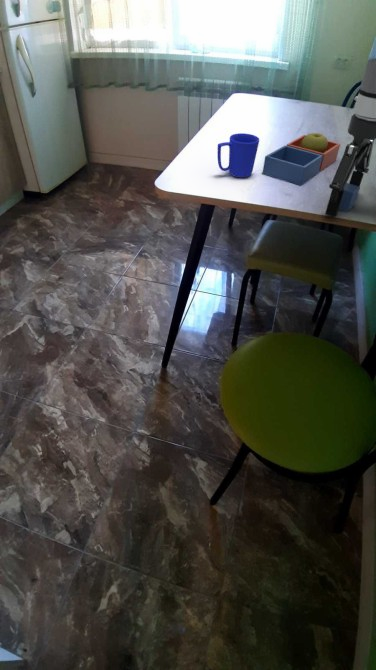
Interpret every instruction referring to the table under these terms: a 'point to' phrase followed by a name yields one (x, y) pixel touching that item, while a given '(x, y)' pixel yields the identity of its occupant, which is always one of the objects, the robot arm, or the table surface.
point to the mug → (240, 154)
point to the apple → (315, 142)
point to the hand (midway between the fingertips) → (341, 204)
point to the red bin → (327, 157)
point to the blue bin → (292, 164)
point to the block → (349, 197)
